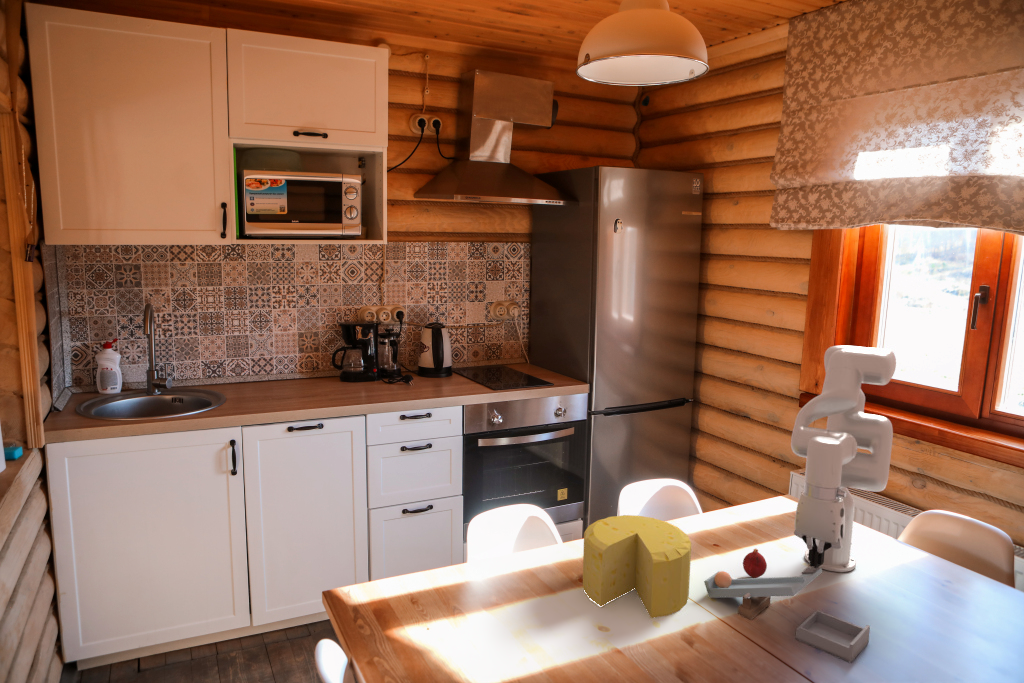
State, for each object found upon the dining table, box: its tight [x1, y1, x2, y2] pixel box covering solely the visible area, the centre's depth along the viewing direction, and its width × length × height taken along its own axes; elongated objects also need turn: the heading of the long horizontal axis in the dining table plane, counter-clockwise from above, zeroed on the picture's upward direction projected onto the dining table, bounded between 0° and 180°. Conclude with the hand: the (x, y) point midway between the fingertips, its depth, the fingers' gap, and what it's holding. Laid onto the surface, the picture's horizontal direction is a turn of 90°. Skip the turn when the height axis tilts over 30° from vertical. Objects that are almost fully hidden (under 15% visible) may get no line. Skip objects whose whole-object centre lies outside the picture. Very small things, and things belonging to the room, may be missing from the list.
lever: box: [703, 566, 823, 599], centre depth 163 cm, size 18×22×4 cm
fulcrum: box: [737, 597, 772, 621], centre depth 160 cm, size 10×3×4 cm, turn 134°
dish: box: [795, 610, 871, 664], centre depth 148 cm, size 10×12×4 cm
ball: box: [715, 570, 732, 588], centre depth 166 cm, size 4×4×4 cm
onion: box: [742, 548, 768, 578], centre depth 175 cm, size 6×6×8 cm
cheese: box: [582, 514, 692, 619], centre depth 168 cm, size 26×26×15 cm
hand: (815, 565), depth 159 cm, fingers closed
